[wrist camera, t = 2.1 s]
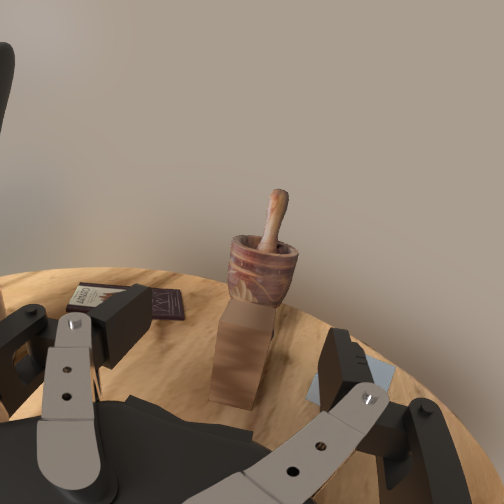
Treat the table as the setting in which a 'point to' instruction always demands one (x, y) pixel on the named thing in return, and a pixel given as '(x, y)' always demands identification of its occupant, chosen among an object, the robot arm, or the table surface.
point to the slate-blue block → (378, 369)
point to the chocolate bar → (91, 295)
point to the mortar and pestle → (263, 260)
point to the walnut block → (240, 353)
